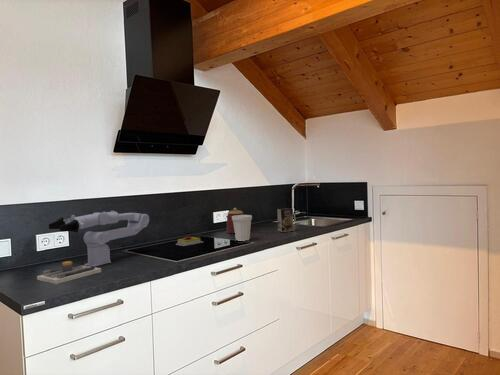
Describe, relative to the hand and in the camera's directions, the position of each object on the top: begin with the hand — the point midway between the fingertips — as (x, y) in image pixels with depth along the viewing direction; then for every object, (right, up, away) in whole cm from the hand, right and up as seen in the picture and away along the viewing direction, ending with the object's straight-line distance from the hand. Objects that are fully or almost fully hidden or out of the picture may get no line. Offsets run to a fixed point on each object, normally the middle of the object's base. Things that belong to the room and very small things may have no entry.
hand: (54, 227), depth 156 cm
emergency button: (+47, -17, +65) cm, 83 cm away
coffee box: (+108, -14, +95) cm, 145 cm away
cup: (+79, -16, +66) cm, 104 cm away
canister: (+74, -15, +100) cm, 126 cm away
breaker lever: (+7, -18, -3) cm, 20 cm away
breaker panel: (+8, -20, -2) cm, 22 cm away
